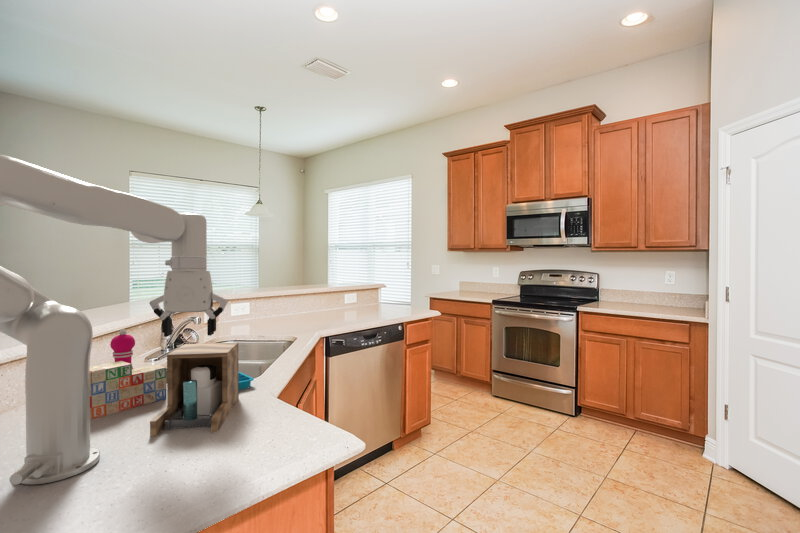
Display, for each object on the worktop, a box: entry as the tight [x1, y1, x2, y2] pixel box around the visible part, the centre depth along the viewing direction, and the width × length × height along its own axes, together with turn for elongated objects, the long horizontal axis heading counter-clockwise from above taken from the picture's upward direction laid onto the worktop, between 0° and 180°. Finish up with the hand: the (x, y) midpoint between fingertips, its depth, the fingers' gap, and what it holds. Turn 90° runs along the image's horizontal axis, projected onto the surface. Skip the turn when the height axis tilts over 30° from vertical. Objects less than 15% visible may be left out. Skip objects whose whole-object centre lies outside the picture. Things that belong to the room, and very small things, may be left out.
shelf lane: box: [149, 342, 240, 437], centre depth 104 cm, size 23×14×16 cm, turn 10°
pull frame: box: [164, 380, 222, 431], centre depth 105 cm, size 18×11×11 cm, turn 10°
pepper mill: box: [109, 328, 136, 369], centre depth 118 cm, size 7×7×20 cm
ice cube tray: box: [238, 370, 254, 391], centre depth 131 cm, size 12×20×3 cm, turn 46°
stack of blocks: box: [89, 361, 167, 420], centre depth 110 cm, size 21×6×12 cm, turn 145°
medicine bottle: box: [191, 365, 222, 416], centre depth 108 cm, size 7×7×12 cm
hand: (189, 335), depth 97 cm, fingers open, 9 cm apart
